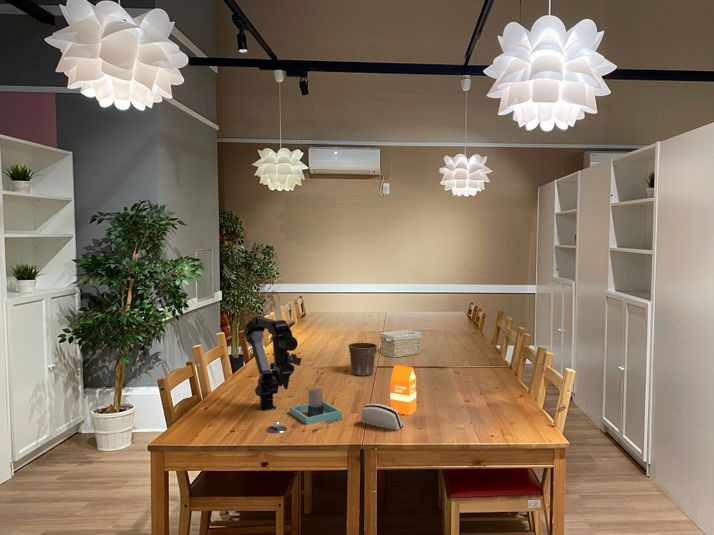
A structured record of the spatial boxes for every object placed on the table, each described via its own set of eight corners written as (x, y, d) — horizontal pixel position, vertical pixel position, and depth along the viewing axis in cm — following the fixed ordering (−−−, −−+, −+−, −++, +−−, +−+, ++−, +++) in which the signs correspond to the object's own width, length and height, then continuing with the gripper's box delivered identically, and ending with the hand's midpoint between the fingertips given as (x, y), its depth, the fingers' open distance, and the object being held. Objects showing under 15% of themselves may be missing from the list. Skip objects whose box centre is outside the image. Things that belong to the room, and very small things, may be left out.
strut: (307, 416, 205) (307, 390, 205) (314, 413, 209) (314, 387, 209) (317, 418, 203) (316, 392, 202) (323, 415, 207) (323, 389, 206)
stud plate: (262, 431, 192) (262, 419, 191) (282, 427, 196) (281, 415, 196) (270, 438, 185) (270, 426, 185) (290, 434, 189) (290, 421, 189)
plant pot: (378, 370, 284) (378, 342, 283) (376, 378, 268) (376, 348, 267) (350, 369, 286) (349, 342, 285) (346, 377, 270) (346, 348, 269)
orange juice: (409, 416, 209) (409, 369, 208) (390, 412, 213) (390, 366, 212) (416, 410, 216) (416, 365, 215) (397, 407, 220) (397, 362, 219)
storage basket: (406, 350, 338) (407, 328, 337) (423, 354, 324) (423, 332, 324) (378, 354, 324) (378, 332, 324) (394, 359, 311) (394, 336, 310)
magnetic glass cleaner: (404, 426, 197) (400, 405, 193) (399, 434, 193) (395, 413, 190) (368, 418, 205) (363, 398, 202) (362, 426, 202) (358, 405, 198)
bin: (290, 416, 209) (289, 407, 208) (323, 409, 217) (323, 400, 217) (306, 428, 195) (306, 418, 195) (341, 420, 204) (341, 411, 203)
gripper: (304, 349, 203) (308, 387, 202) (293, 346, 220) (296, 382, 219) (278, 352, 198) (281, 391, 197) (268, 350, 216) (271, 386, 215)
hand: (283, 387), depth 207 cm, fingers open, 9 cm apart
